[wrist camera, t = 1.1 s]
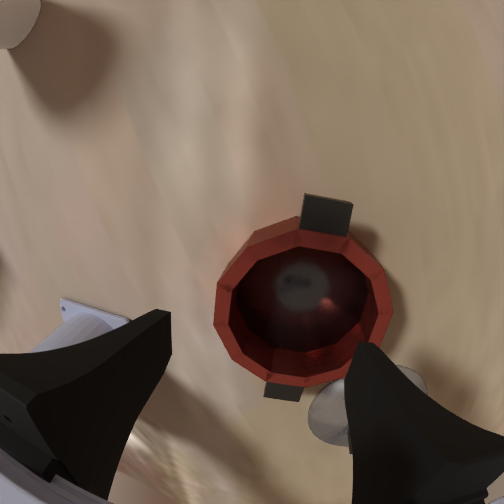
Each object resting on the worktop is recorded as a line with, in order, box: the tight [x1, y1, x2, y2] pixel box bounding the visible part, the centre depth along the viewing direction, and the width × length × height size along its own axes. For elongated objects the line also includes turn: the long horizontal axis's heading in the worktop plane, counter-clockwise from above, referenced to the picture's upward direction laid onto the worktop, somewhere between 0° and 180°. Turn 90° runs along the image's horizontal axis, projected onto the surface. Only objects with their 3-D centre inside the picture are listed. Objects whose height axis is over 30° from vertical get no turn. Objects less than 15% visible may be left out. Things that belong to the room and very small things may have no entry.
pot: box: [213, 193, 393, 402], centre depth 19 cm, size 14×11×4 cm
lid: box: [308, 365, 427, 454], centre depth 22 cm, size 12×12×4 cm
